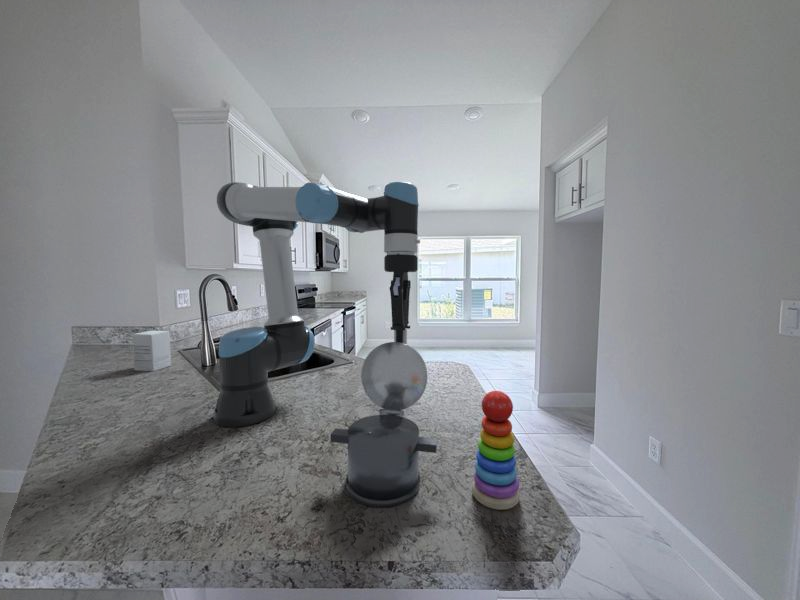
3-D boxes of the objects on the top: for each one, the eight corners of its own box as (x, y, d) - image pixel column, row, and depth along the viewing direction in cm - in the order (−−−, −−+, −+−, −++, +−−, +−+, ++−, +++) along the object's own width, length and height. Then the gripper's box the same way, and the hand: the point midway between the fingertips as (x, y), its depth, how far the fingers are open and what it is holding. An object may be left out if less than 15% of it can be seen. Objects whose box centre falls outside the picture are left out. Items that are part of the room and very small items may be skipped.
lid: (361, 340, 69) (366, 340, 73) (358, 413, 67) (363, 409, 71) (427, 343, 66) (429, 343, 70) (425, 419, 65) (427, 414, 68)
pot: (318, 499, 55) (317, 442, 55) (346, 456, 69) (345, 410, 68) (432, 515, 52) (433, 455, 51) (439, 466, 65) (439, 418, 64)
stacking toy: (466, 482, 60) (468, 383, 59) (507, 480, 61) (510, 382, 59) (480, 514, 52) (482, 400, 51) (528, 511, 53) (531, 398, 52)
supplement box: (153, 364, 139) (151, 330, 138) (172, 365, 138) (170, 330, 137) (133, 370, 130) (131, 333, 129) (152, 371, 129) (151, 334, 128)
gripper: (413, 252, 66) (412, 365, 68) (421, 256, 79) (420, 351, 81) (377, 252, 68) (377, 364, 69) (390, 256, 80) (390, 350, 82)
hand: (400, 357), depth 75 cm, fingers closed
